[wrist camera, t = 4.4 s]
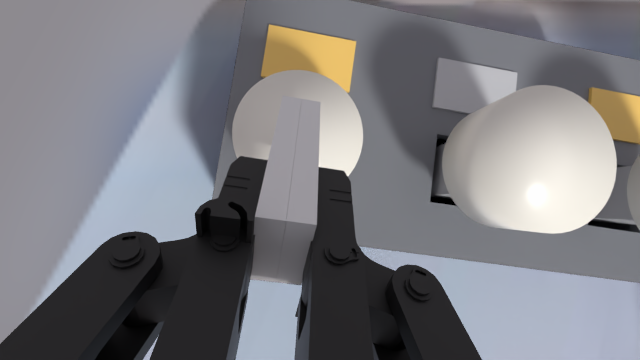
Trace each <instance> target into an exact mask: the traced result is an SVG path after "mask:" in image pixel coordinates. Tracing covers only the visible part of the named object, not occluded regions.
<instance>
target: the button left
mask: <svg viewBox="0 0 640 360" xmlns="http://www.w3.org/2000/svg"><path fill="white" fill-rule="evenodd" d="M283 96H289V97H294V98H300V99H306V100H312V101H317V102H321V104H320V137H319V167H322V168H329V169H335V170H342V171H344V172H345V173H346V175H347V176H349V175H350V173H351V172H352V170H353V169H354V168H355V166H356V164H357V162H358V159H359V156H360V154H361V150H362V145H363V127H362V122H361V118H360V115H359V112H358V109H357V107H356V105H355V103H354V102H353V100H352V99H351V97H350V96H349V95H348V94H347V92H346V91H345V90H344V89H343V88H342V87H341V86H339V85H338V84H337V83H335V82H334V81H333V80H331V79H329V78H327V77H325V76H323V75H321V74H318V73H315V72H311V71H305V70H287V71H282V72H278V73H275V74H272V75H270V76H267V77H266V78H264V79H262V80H260V81H259V82H258V83H256V84H255V85H254V86H253V87H252V88H251V89H250V90H249V91H248V92H247V93H246V94H245V96H244V97H243V98H242V100H241V102H240V104H239V105H238V108H237V110H236V113H235V116H234V120H233V127H232V141H233V146H234V150H235V154H236V157H237V158H239V157H240V156H244V157H251V158H257V159H264V160H268V157H269V153H270V149H271V144H272V140H273V136H274V131H275V127H276V123H277V118H278V114H279V110H280V105H281V101H282V97H283Z"/></svg>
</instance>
